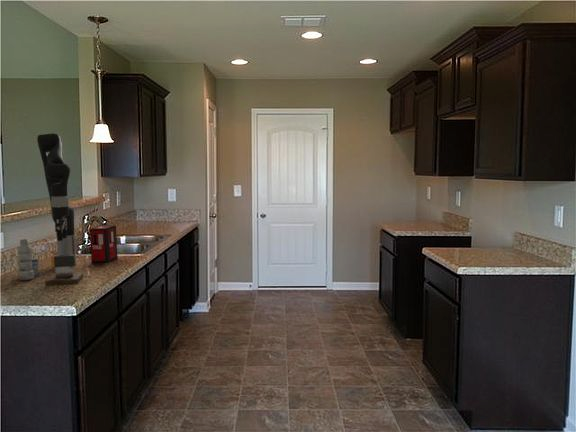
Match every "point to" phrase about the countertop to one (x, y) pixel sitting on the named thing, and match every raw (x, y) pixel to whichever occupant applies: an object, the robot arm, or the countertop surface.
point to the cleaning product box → (103, 244)
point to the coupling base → (64, 279)
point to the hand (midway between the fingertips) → (62, 239)
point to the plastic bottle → (25, 260)
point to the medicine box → (35, 267)
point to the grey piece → (63, 265)
